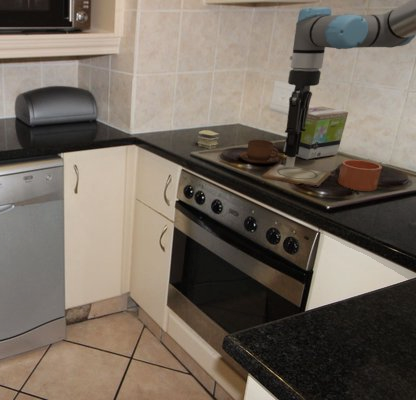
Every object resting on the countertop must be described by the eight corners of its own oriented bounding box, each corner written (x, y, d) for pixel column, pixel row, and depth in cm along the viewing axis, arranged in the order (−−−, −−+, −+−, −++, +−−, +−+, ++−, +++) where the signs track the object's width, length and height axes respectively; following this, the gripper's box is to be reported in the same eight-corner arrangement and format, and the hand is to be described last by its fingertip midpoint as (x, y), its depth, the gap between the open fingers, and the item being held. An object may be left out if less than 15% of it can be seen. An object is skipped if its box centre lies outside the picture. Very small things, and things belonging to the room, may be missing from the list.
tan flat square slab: (330, 175, 139) (331, 172, 139) (318, 188, 129) (319, 184, 129) (277, 166, 148) (277, 163, 148) (261, 177, 138) (262, 174, 138)
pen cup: (379, 184, 131) (384, 163, 129) (373, 193, 125) (378, 171, 123) (341, 178, 137) (346, 157, 135) (334, 186, 130) (338, 165, 128)
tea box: (308, 160, 153) (318, 115, 148) (282, 152, 162) (290, 108, 156) (338, 154, 160) (349, 110, 154) (311, 147, 168) (321, 105, 162)
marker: (294, 166, 137) (302, 121, 133) (292, 167, 135) (299, 122, 131) (286, 165, 138) (293, 120, 134) (284, 166, 137) (291, 121, 132)
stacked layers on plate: (226, 149, 168) (228, 133, 166) (208, 152, 164) (210, 137, 162) (204, 143, 176) (206, 128, 174) (187, 146, 172) (188, 131, 170)
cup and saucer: (281, 159, 155) (284, 141, 153) (274, 168, 146) (277, 149, 143) (243, 154, 161) (245, 136, 159) (234, 163, 152) (236, 144, 150)
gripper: (298, 66, 135) (285, 147, 143) (281, 71, 124) (269, 158, 133) (327, 68, 131) (312, 151, 139) (313, 72, 120) (297, 162, 128)
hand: (291, 154), depth 136 cm, fingers closed on marker, 2 cm apart
